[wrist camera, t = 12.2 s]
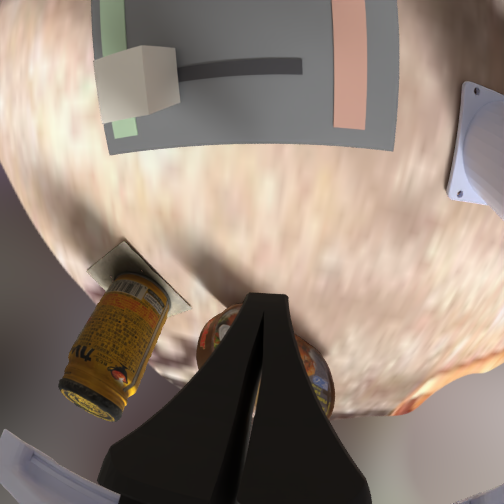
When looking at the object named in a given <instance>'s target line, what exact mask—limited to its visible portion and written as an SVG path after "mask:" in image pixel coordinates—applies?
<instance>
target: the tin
mask: <svg viewBox="0 0 504 504" xmlns="http://www.w3.org/2000/svg"><path fill="white" fill-rule="evenodd" d="M241 306H242V304H235V305H232V306H230V307H228V308H227V309H225V310H224V311H223V312H222V313H220V314H218V315H216V316H215V317H213V318H212V319H211V320H209V321H208V323H207V324H206V325H205V326H204V328H203V330H202V331H201V334H200V337H199V340H198V345H197V353H196V359H197V365H198V369H200V368H201V367H202V366H203V364H204V363H205V362H206V361H207V359H208V358H209V357H210V355H211V354H212V352H213V351H214V350H215V348H216V347H217V346H218V344H219V343H220V341H221V340H222V338H223V337H224V335H225V334H226V332H227V331H228V329H229V327H230V326H231V324H232V323H233V321H234V319H235V317H236V316H237V314H238V312H239V310H240V308H241ZM294 335H295V338H296V342H297V345H298V348H299V352H300V355H301V358H302V360H303V363H304V366H305V369H306V371H307V374H308V376H309V379H310V381H311V384H312V386H313V388H314V391H315V393H316V395H317V397H318V400H319V402H320V404H321V406H322V408H323V410H324V412H325V414H326V416H327V418H328V419H329V418H330V416H331V414H332V412H333V408H334V402H335V389H334V382H333V379H332V375H331V372H330V369H329V367H328V365H327V363H326V361H325V359H324V358H323V356H322V355H321V354H320V353H319V352H318V351H317V350H316V349H315V348H314V347H313V346H311V345H310V344H308V343H307V342H305V341H304V340H303V339H301V338H300V337H299V336H297V335H296V334H294ZM261 375H262V374H261ZM260 381H261V379H260ZM259 387H260V383H259ZM259 387H258V392H257V396H256V400H255V405H254V409H253V414H252V416H255V410H256V405H257V399H258V393H259Z"/></svg>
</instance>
